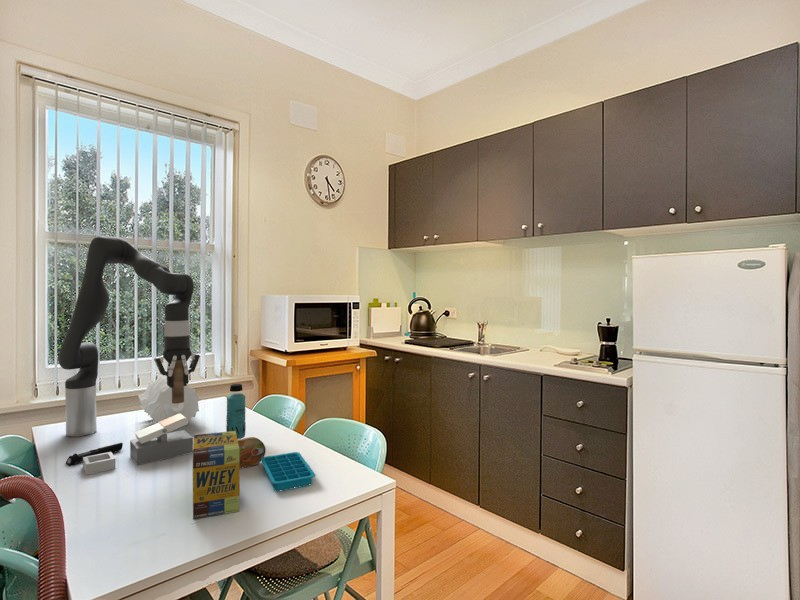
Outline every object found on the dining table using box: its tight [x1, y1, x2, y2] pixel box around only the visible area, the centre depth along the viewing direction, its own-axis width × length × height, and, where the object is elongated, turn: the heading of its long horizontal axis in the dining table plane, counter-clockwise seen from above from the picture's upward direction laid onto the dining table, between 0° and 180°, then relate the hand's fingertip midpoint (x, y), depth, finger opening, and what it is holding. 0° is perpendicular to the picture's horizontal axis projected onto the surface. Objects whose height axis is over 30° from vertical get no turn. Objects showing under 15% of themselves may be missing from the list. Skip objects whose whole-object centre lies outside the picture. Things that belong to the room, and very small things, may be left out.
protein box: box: [192, 431, 240, 520], centre depth 113 cm, size 10×15×16 cm
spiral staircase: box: [137, 376, 201, 426], centre depth 178 cm, size 18×18×25 cm
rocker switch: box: [134, 413, 189, 444], centre depth 145 cm, size 8×14×2 cm, turn 131°
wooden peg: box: [172, 360, 184, 403], centre depth 147 cm, size 4×4×14 cm
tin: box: [237, 436, 266, 469], centre depth 135 cm, size 15×3×8 cm, turn 117°
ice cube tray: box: [261, 451, 316, 492], centre depth 129 cm, size 12×20×3 cm, turn 26°
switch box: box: [129, 429, 194, 466], centre depth 145 cm, size 10×16×7 cm, turn 131°
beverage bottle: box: [225, 383, 247, 439], centre depth 157 cm, size 6×7×20 cm
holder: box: [82, 452, 116, 476], centre depth 134 cm, size 7×7×3 cm
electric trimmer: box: [65, 442, 124, 467], centre depth 142 cm, size 4×16×3 cm, turn 146°
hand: (177, 386), depth 147 cm, fingers closed on wooden peg, 3 cm apart
